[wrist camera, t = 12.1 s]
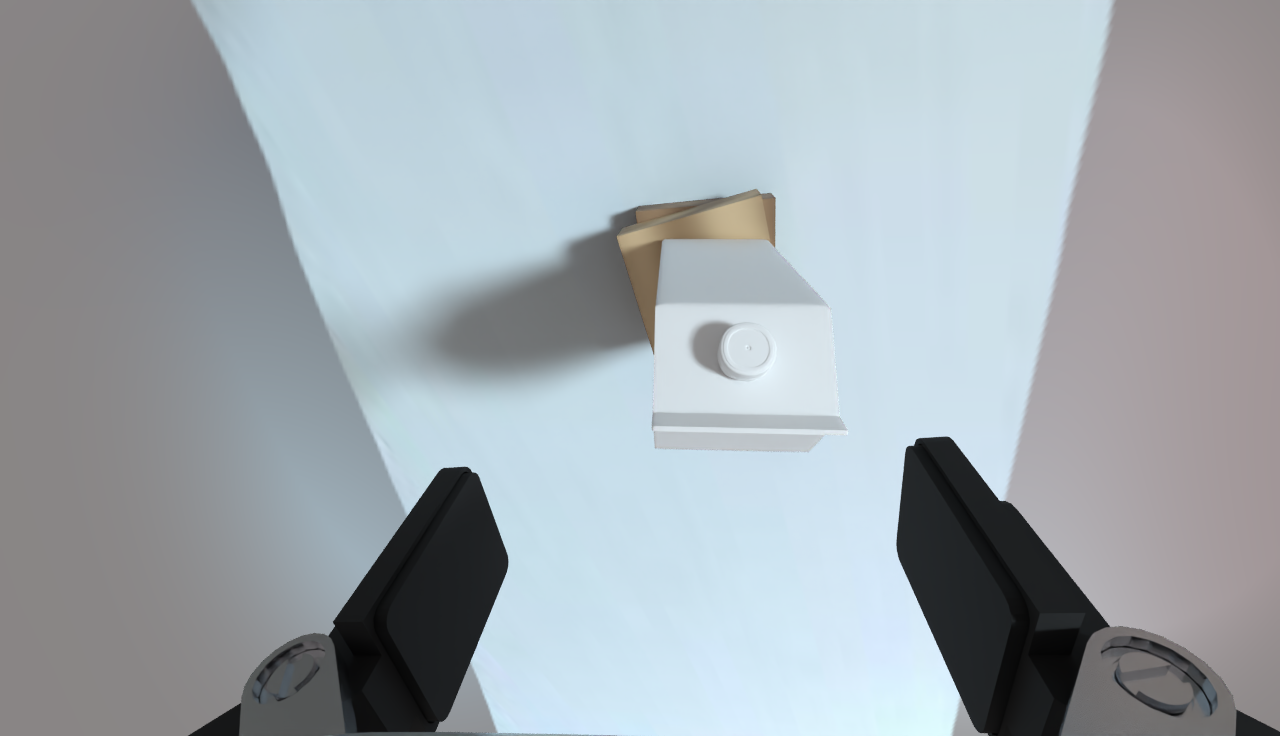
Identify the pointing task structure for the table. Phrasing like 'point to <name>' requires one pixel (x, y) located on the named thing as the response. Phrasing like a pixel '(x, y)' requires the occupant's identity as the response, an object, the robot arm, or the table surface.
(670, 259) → the milk carton
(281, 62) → the table surface
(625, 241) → the top slab
